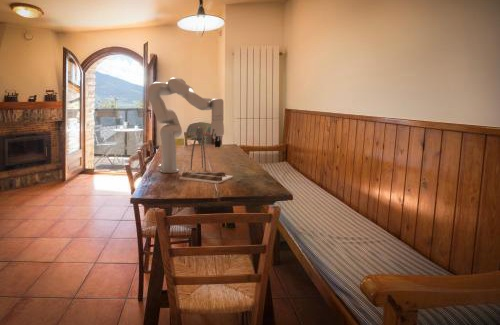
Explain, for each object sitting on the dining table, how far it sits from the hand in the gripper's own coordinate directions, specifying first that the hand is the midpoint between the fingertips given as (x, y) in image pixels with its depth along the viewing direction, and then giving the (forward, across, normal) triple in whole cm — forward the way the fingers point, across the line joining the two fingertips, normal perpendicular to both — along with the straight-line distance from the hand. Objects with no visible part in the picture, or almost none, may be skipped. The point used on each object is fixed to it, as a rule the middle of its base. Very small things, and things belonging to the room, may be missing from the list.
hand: (217, 147), depth 238 cm
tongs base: (+18, +17, -2) cm, 25 cm away
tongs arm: (+17, +8, -3) cm, 19 cm away
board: (+19, +11, -2) cm, 22 cm away
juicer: (+19, -13, -21) cm, 31 cm away
